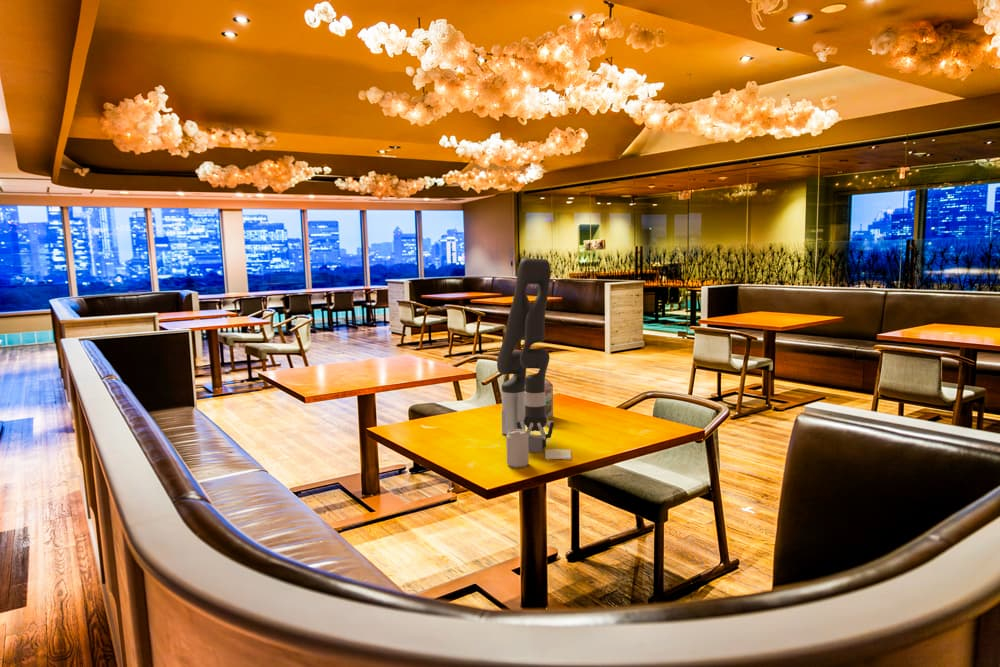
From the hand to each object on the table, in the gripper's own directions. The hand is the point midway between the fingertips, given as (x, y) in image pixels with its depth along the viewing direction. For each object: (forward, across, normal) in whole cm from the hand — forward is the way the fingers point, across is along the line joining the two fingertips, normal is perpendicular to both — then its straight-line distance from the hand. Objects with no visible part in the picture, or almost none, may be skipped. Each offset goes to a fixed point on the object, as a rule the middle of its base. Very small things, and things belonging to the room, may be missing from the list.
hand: (535, 448), depth 236 cm
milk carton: (+1, 0, +46) cm, 46 cm away
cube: (+1, 0, 0) cm, 1 cm away
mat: (+1, +8, -6) cm, 10 cm away
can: (+1, -6, -16) cm, 17 cm away
